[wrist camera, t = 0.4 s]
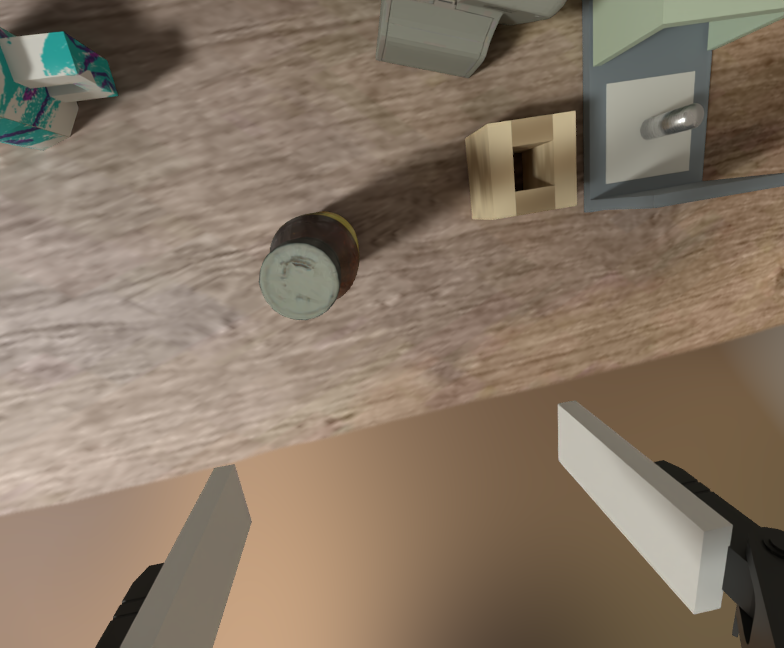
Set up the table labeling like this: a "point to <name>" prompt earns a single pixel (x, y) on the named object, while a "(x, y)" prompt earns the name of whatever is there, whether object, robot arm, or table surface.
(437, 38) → the digital clock
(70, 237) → the table surface
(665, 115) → the steel pin
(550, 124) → the birch collar
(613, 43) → the sage cover
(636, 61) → the housing base
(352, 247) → the sauce bottle
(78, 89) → the mug
